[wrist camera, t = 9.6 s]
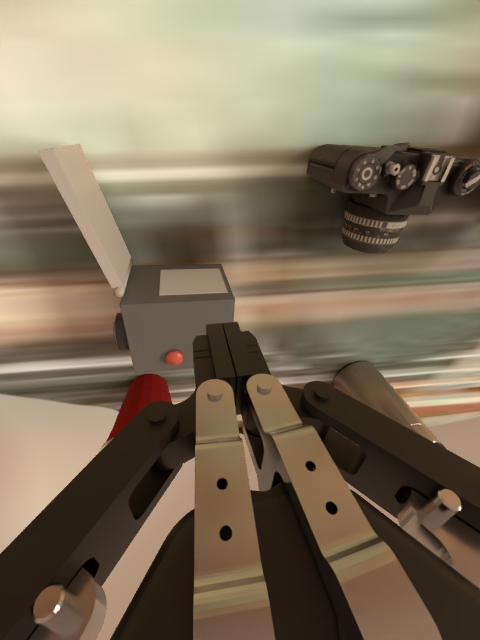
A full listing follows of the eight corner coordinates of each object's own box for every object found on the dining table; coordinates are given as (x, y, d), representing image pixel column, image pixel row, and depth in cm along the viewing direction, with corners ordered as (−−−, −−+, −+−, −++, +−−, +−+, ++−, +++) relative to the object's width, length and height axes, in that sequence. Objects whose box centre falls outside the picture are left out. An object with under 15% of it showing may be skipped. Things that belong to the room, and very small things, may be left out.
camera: (294, 238, 35) (331, 270, 27) (310, 137, 28) (365, 140, 20) (388, 235, 37) (447, 264, 30) (422, 143, 31) (508, 147, 23)
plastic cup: (109, 406, 45) (93, 480, 35) (117, 359, 39) (100, 432, 30) (174, 408, 49) (175, 476, 39) (189, 366, 43) (194, 433, 34)
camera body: (219, 320, 39) (231, 366, 32) (126, 327, 37) (115, 378, 29) (221, 263, 34) (236, 301, 27) (112, 265, 31) (95, 309, 24)
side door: (81, 143, 24) (49, 148, 18) (134, 262, 31) (126, 296, 25) (68, 146, 24) (32, 152, 18) (125, 264, 31) (114, 299, 25)
